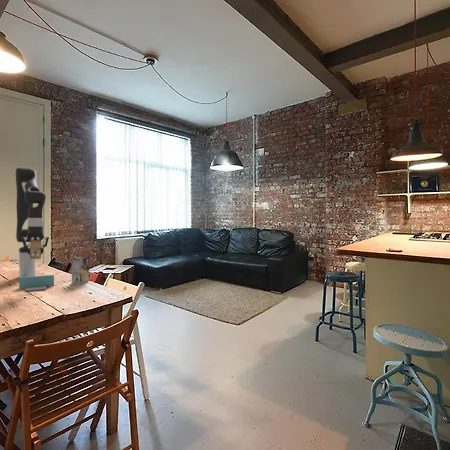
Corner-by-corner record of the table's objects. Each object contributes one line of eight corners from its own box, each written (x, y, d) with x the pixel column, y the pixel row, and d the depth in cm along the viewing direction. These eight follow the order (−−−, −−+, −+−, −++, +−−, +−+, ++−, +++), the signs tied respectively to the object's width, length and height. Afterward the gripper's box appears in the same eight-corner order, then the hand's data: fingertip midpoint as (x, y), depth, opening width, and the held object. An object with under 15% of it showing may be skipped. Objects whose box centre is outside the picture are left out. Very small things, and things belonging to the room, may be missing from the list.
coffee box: (80, 280, 203) (80, 256, 202) (89, 280, 202) (89, 256, 201) (71, 283, 194) (71, 258, 193) (80, 284, 193) (80, 259, 192)
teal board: (19, 288, 180) (19, 277, 180) (54, 285, 189) (54, 274, 188) (19, 288, 179) (19, 277, 179) (54, 285, 188) (54, 275, 187)
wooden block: (31, 258, 178) (31, 239, 177) (41, 257, 180) (40, 239, 180) (30, 259, 173) (30, 240, 173) (40, 258, 176) (40, 240, 175)
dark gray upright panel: (26, 288, 179) (26, 287, 179) (46, 287, 183) (46, 285, 183) (25, 292, 172) (25, 290, 172) (45, 290, 177) (45, 288, 177)
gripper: (49, 225, 182) (50, 253, 183) (21, 225, 176) (21, 254, 177) (49, 225, 176) (49, 254, 177) (19, 226, 169) (20, 256, 170)
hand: (35, 254), depth 177 cm, fingers closed on wooden block, 5 cm apart
